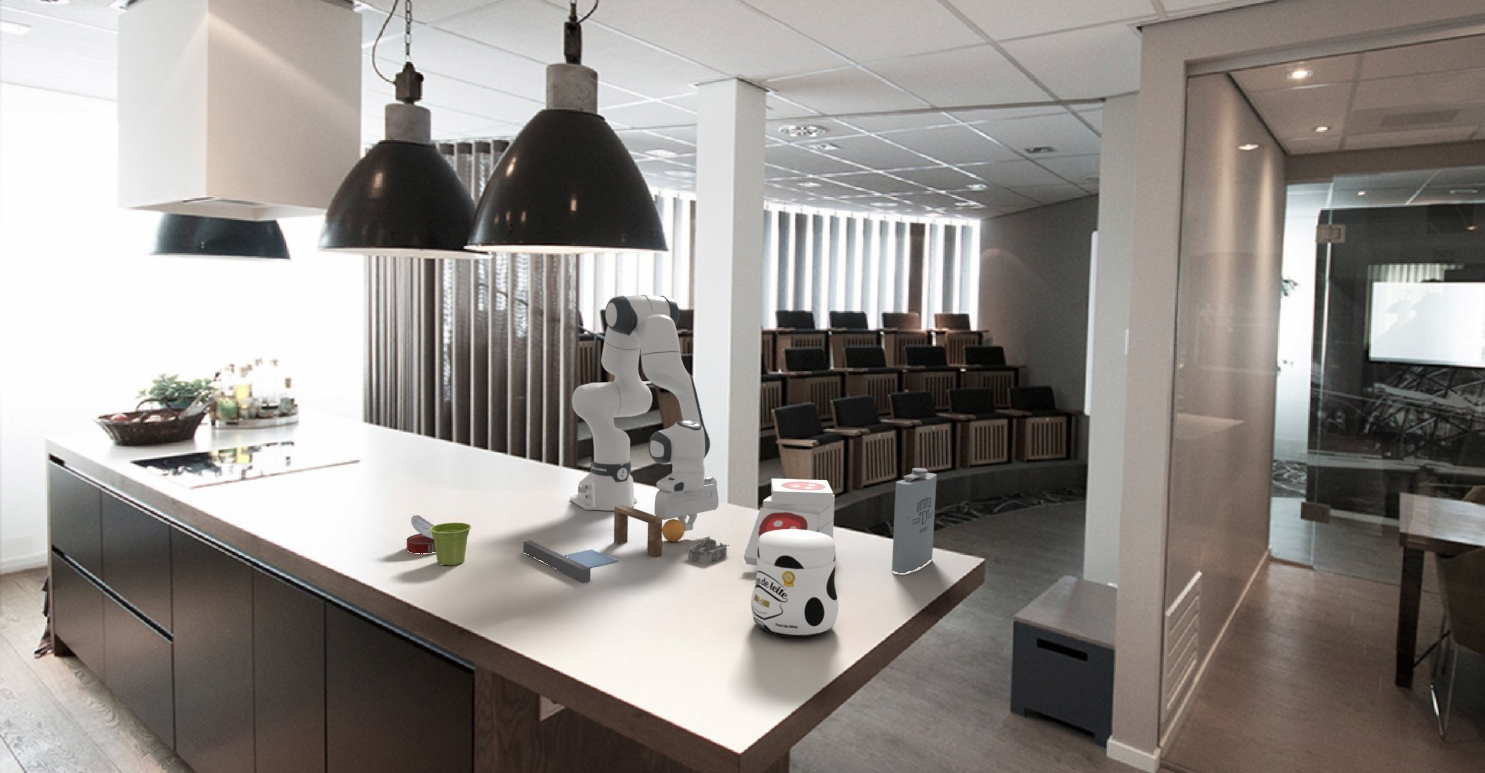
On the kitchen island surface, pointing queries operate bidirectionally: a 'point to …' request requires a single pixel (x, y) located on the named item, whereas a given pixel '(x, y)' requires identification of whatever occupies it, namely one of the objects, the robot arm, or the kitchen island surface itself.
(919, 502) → the flask
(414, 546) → the canned food
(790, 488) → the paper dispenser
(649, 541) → the bridge
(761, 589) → the milk container
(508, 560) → the kitchen island surface
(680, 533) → the ball
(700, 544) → the egg carton
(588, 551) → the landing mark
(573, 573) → the stopper wall
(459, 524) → the plant pot
